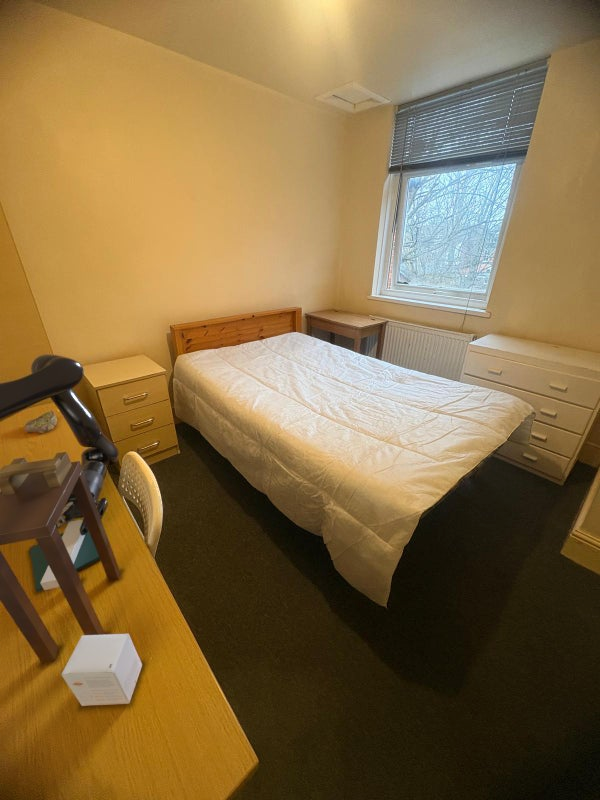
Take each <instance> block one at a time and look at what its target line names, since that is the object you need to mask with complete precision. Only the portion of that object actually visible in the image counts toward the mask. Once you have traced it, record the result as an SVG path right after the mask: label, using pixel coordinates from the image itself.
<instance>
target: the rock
mask: <svg viewBox="0 0 600 800" xmlns="http://www.w3.org/2000/svg"><path fill="white" fill-rule="evenodd" d="M57 422H58V418H57V416H56V413H54V411H53V410H49V411H47V412H44V413H43V414H41V415H39V416H38V417H35V418H34V419H31V420H29V421H27V422H26V423H25V425H24V427H23V428H24V430H25V431H26V432H27V433H39V434H46V433H48V432H50V431H53V429H54V428H55V427H56V426H57Z"/></svg>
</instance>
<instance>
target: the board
mask: <svg viewBox="0 0 600 800" xmlns="http://www.w3.org/2000/svg"><path fill="white" fill-rule="evenodd" d="M63 534H64V532H62V533H60V536H61V538H62V536H63ZM29 552H30V559H31V566H32V567H31V568H32V570H33V571H32V572H33V579H34V586H35V590H36V592H37V593H39V592H41V591H44V589H43V587H42V585H41V584H40V582H41V580H42V578H43V576H44V574H45V572H46V570H47V568H48V563H47V561H46V559H45V557H44V555H43V553H42V551H41V549H40V547H39V545H38V543H37V544H35V545H33V546H31V547H29ZM98 561H101V560H100V558H99V555H98V553H97V550H96V548H95V545H94V543H93V540H92V538H91V535H90V533H89V531H88V532H87V533H86V534H85V537H84V539H83V542H82V544H81V547H80V549H79V552H78V554H77V557H76V559H75V562H74V566H75V568H76V571H77V572H79V571H81V570H82V569H85V568H87V567H89V566H90V565H93V564H94V563H96V562H98Z"/></svg>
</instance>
